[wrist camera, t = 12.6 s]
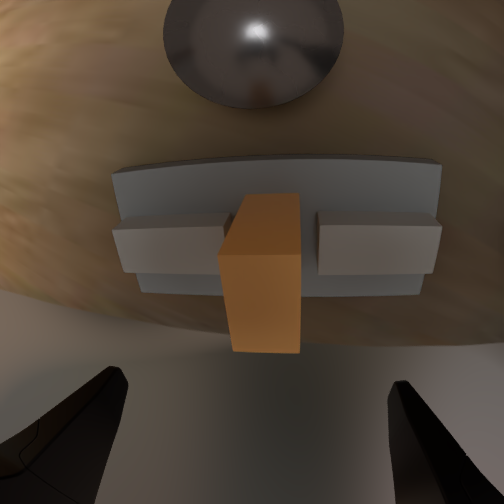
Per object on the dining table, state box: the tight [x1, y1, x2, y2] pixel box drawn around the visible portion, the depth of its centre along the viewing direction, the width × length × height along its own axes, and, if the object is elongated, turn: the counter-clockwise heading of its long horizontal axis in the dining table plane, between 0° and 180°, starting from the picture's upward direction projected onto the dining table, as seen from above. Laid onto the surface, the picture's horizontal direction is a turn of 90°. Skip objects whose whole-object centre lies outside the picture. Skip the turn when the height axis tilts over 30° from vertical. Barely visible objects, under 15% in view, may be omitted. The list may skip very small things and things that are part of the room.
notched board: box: [111, 154, 442, 297], centre depth 18 cm, size 20×9×4 cm, turn 94°
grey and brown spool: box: [163, 0, 344, 109], centre depth 12 cm, size 7×7×6 cm
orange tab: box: [217, 193, 301, 353], centre depth 15 cm, size 3×5×7 cm, turn 5°
